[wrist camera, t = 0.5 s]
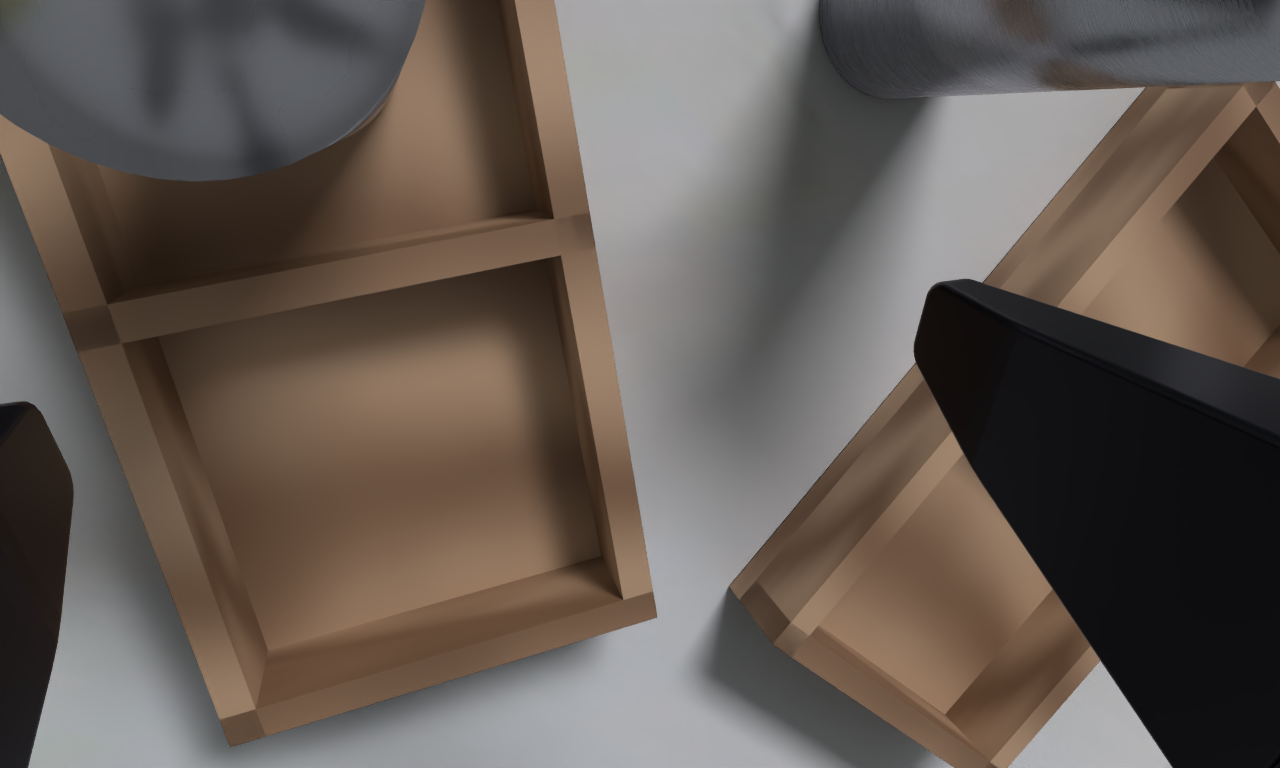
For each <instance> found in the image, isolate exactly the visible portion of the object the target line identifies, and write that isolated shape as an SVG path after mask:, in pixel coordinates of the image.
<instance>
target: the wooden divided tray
mask: <svg viewBox="0 0 1280 768" xmlns="http://www.w3.org/2000/svg"><path fill="white" fill-rule="evenodd" d="M983 283H984V284H987V285H990V286H993V287H996V288H1000V289H1003V290H1006V291H1009V292H1012V293H1015V294H1018V295H1021V296H1024V297H1028V298H1031V299H1034V300H1037V301H1040V302H1043V303H1046V304H1049V305H1052V306H1055V307H1059V308H1062V309H1065V310H1068V311H1071V312H1074V313H1077V314H1080V315H1083V316H1087V317H1090V318H1093V319H1096V320H1099V321H1102V322H1105V323H1108V324H1111V325H1114V326H1118V327H1121V328H1124V329H1127V330H1130V331H1133V332H1136V333H1139V334H1142V335H1146V336H1149V337H1152V338H1155V339H1158V340H1161V341H1164V342H1167V343H1170V344H1173V345H1177V346H1180V347H1183V348H1186V349H1189V350H1192V351H1195V352H1198V353H1201V354H1205V355H1208V356H1211V357H1214V358H1217V359H1220V360H1223V361H1226V362H1229V363H1232V364H1236V365H1239V366H1242V367H1245V368H1248V369H1251V370H1254V371H1257V372H1260V373H1264V374H1267V375H1270V376H1273V377H1276V378H1279V379H1280V89H1279V87H1278V86H1277V84H1276V82H1275V81H1270V82H1248V83H1226V84H1204V85H1181V86H1159V87H1146V88H1145V90H1144V91H1143V92H1142V93H1141V94H1140V96H1139V97H1138V98H1137V99H1136V100H1135V102H1134V103H1133V104H1132V105H1131V106H1130V108H1129V109H1128V110H1127V111H1126V112H1125V114H1124V115H1123V116H1122V117H1121V118H1120V120H1119V121H1118V122H1117V123H1116V124H1115V126H1114V127H1113V128H1112V129H1111V130H1110V132H1109V133H1108V134H1107V135H1106V136H1105V138H1104V139H1103V140H1102V141H1101V142H1100V144H1099V145H1098V146H1097V147H1096V148H1095V150H1094V151H1093V152H1092V153H1091V154H1090V156H1089V157H1088V158H1087V159H1086V160H1085V161H1084V163H1083V164H1082V165H1081V166H1080V167H1079V169H1078V170H1077V171H1076V172H1075V173H1074V175H1073V176H1072V177H1071V178H1070V179H1069V181H1068V182H1067V183H1066V184H1065V185H1064V187H1063V188H1062V189H1061V190H1060V191H1059V193H1058V194H1057V195H1056V196H1055V197H1054V199H1053V200H1052V201H1051V202H1050V203H1049V205H1048V206H1047V207H1046V208H1045V209H1044V211H1043V212H1042V213H1041V214H1040V215H1039V217H1038V218H1037V219H1036V220H1035V221H1034V223H1033V224H1032V225H1031V226H1030V227H1029V229H1028V230H1027V231H1026V232H1025V233H1024V234H1023V236H1022V237H1021V238H1020V239H1019V240H1018V242H1017V243H1016V244H1015V245H1014V246H1013V248H1012V249H1011V250H1010V251H1009V252H1008V254H1007V255H1006V256H1005V257H1004V258H1003V260H1002V261H1001V262H1000V263H999V264H998V266H997V267H996V268H995V269H994V270H993V272H992V273H991V274H990V275H989V276H988V278H987V279H986V280H985V281H984V282H983ZM729 587H730V588H731V590H732V591H733V592H734V594H735V595H736V597H737V598H738V599H739V601H740V602H741V603H742V605H743V606H744V607H745V609H746V610H747V611H748V613H749V614H750V615H751V617H752V618H753V619H754V621H755V622H756V623H757V625H758V626H759V627H760V629H761V630H762V631H763V633H764V634H765V635H766V637H767V638H768V639H769V641H770V642H771V643H772V645H774V646H775V647H777V648H778V649H780V650H781V651H783V652H784V653H786V654H787V655H789V656H790V657H792V658H793V659H795V660H796V661H798V662H799V663H801V664H802V665H803V666H805V667H806V668H808V669H809V670H811V671H812V672H814V673H815V674H817V675H818V676H820V677H821V678H823V679H824V680H826V681H827V682H829V683H830V684H832V685H833V686H835V687H836V688H837V689H839V690H840V691H842V692H843V693H845V694H846V695H848V696H849V697H851V698H852V699H854V700H855V701H857V702H858V703H860V704H861V705H863V706H864V707H866V708H867V709H869V710H870V711H871V712H873V713H874V714H876V715H877V716H879V717H880V718H882V719H883V720H885V721H886V722H888V723H889V724H891V725H892V726H894V727H895V728H897V729H898V730H900V731H901V732H903V733H904V734H905V735H907V736H908V737H910V738H911V739H913V740H914V741H916V742H917V743H919V744H920V745H922V746H923V747H925V748H926V749H928V750H929V751H931V752H932V753H934V754H935V755H936V756H938V757H939V758H941V759H942V760H944V761H945V762H947V763H948V764H950V765H951V766H953V767H954V768H1008V767H1009V765H1010V764H1011V763H1012V762H1013V761H1014V760H1015V758H1016V757H1017V756H1018V755H1019V754H1020V753H1021V752H1022V750H1023V749H1024V748H1025V747H1026V746H1027V745H1028V743H1029V742H1030V741H1031V740H1032V739H1033V738H1034V737H1035V735H1036V734H1037V733H1038V732H1039V731H1040V730H1041V728H1042V727H1043V726H1044V725H1045V724H1046V723H1047V722H1048V720H1049V719H1050V718H1051V717H1052V716H1053V715H1054V713H1055V712H1056V711H1057V710H1058V709H1059V708H1060V706H1061V705H1062V704H1063V703H1064V702H1065V701H1066V700H1067V698H1068V697H1069V696H1070V695H1071V694H1072V693H1073V691H1074V690H1075V689H1076V688H1077V687H1078V686H1079V685H1080V683H1081V682H1082V681H1083V680H1084V679H1085V678H1086V676H1087V675H1088V674H1089V673H1090V672H1091V671H1092V670H1093V668H1094V667H1095V666H1096V665H1097V664H1098V663H1099V661H1100V659H1099V658H1098V656H1097V655H1096V653H1095V652H1094V650H1093V649H1092V647H1091V646H1090V644H1089V643H1088V641H1087V640H1086V638H1085V637H1084V635H1083V634H1082V632H1081V631H1080V629H1079V628H1078V626H1077V625H1076V623H1075V622H1074V620H1073V619H1072V617H1071V616H1070V614H1069V613H1068V611H1067V610H1066V608H1065V607H1064V605H1063V604H1062V602H1061V601H1060V600H1059V598H1058V597H1057V595H1056V594H1055V592H1054V591H1053V589H1052V588H1051V586H1050V585H1049V583H1048V582H1047V580H1046V579H1045V577H1044V576H1043V574H1042V573H1041V571H1040V570H1039V568H1038V567H1037V565H1036V564H1035V562H1034V561H1033V559H1032V558H1031V556H1030V555H1029V553H1028V552H1027V550H1026V549H1025V547H1024V546H1023V544H1022V543H1021V541H1020V540H1019V538H1018V537H1017V535H1016V534H1015V533H1014V531H1013V530H1012V528H1011V527H1010V525H1009V524H1008V522H1007V521H1006V519H1005V518H1004V516H1003V515H1002V513H1001V512H1000V510H999V509H998V507H997V506H996V504H995V503H994V501H993V500H992V498H991V497H990V495H989V494H988V492H987V491H986V489H985V488H984V486H983V485H982V483H981V482H980V480H979V479H978V477H977V475H976V474H975V472H974V471H973V469H972V468H971V466H970V464H969V462H968V461H967V459H966V457H965V455H964V453H963V452H962V450H961V448H960V446H959V444H958V442H957V440H956V438H955V437H954V435H953V433H952V431H951V429H950V427H949V425H948V423H947V421H946V419H945V418H944V416H943V414H942V412H941V410H940V408H939V406H938V404H937V402H936V401H935V399H934V397H933V395H932V393H931V391H930V389H929V387H928V385H927V383H926V382H925V380H924V378H923V376H922V374H921V372H920V370H919V368H918V366H917V364H915V365H914V366H913V367H912V369H911V370H910V371H909V372H908V373H907V375H906V376H905V377H904V378H903V379H902V380H901V382H900V383H899V384H898V385H897V386H896V388H895V389H894V390H893V391H892V392H891V394H890V395H889V396H888V397H887V398H886V400H885V401H884V402H883V403H882V404H881V406H880V407H879V408H878V409H877V410H876V412H875V413H874V414H873V415H872V416H871V418H870V419H869V420H868V421H867V422H866V424H865V425H864V426H863V427H862V428H861V430H860V431H859V432H858V433H857V434H856V436H855V437H854V438H853V439H852V440H851V442H850V443H849V444H848V445H847V446H846V448H845V449H844V450H843V451H842V452H841V453H840V455H839V456H838V457H837V458H836V459H835V461H834V462H833V463H832V464H831V465H830V467H829V468H828V469H827V470H826V471H825V473H824V474H823V475H822V476H821V477H820V479H819V480H818V481H817V482H816V483H815V485H814V486H813V487H812V488H811V489H810V491H809V492H808V493H807V494H806V495H805V497H804V498H803V499H802V500H801V501H800V503H799V504H798V505H797V506H796V507H795V509H794V510H793V511H792V512H791V513H790V515H789V516H788V517H787V518H786V519H785V521H784V522H783V523H782V524H781V525H780V526H779V528H778V529H777V530H776V531H775V532H774V534H773V535H772V536H771V537H770V538H769V540H768V541H767V542H766V543H765V544H764V546H763V547H762V548H761V549H760V550H759V552H758V553H757V554H756V555H755V556H754V558H753V559H752V560H751V561H750V562H749V564H748V565H747V566H746V567H745V568H744V570H743V571H742V572H741V573H740V574H739V576H738V577H737V578H736V579H735V580H734V582H733V583H732V584H731V585H730V586H729Z"/></svg>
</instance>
